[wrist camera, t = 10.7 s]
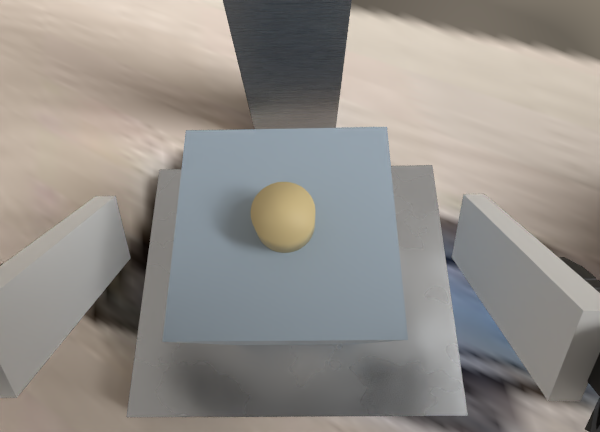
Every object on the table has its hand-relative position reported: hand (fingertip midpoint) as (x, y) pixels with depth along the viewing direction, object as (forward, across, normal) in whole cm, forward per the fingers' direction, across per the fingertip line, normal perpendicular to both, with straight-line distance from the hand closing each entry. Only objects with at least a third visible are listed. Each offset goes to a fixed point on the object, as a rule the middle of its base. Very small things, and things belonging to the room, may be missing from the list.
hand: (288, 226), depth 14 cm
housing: (+3, 0, -5) cm, 6 cm away
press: (+6, 0, -4) cm, 7 cm away
